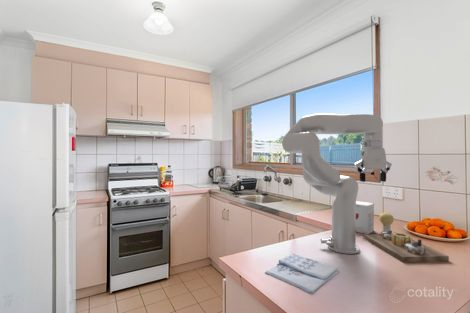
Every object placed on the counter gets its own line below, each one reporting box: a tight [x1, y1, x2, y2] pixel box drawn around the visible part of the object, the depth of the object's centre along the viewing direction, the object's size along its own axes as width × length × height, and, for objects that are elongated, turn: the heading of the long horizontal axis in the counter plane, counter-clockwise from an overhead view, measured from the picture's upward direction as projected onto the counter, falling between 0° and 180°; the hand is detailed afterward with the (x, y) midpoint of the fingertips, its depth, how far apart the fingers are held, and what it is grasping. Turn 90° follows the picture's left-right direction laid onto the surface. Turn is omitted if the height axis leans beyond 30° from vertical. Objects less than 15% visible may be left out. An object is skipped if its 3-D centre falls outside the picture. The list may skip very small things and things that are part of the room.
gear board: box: [363, 229, 450, 263], centre depth 105 cm, size 18×26×6 cm
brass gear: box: [391, 231, 412, 247], centre depth 105 cm, size 7×7×4 cm
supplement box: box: [356, 200, 375, 235], centre depth 129 cm, size 9×9×15 cm
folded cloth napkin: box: [264, 253, 340, 295], centre depth 84 cm, size 19×20×2 cm
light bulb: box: [378, 212, 395, 232], centre depth 128 cm, size 6×6×10 cm
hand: (372, 181), depth 113 cm, fingers open, 9 cm apart
